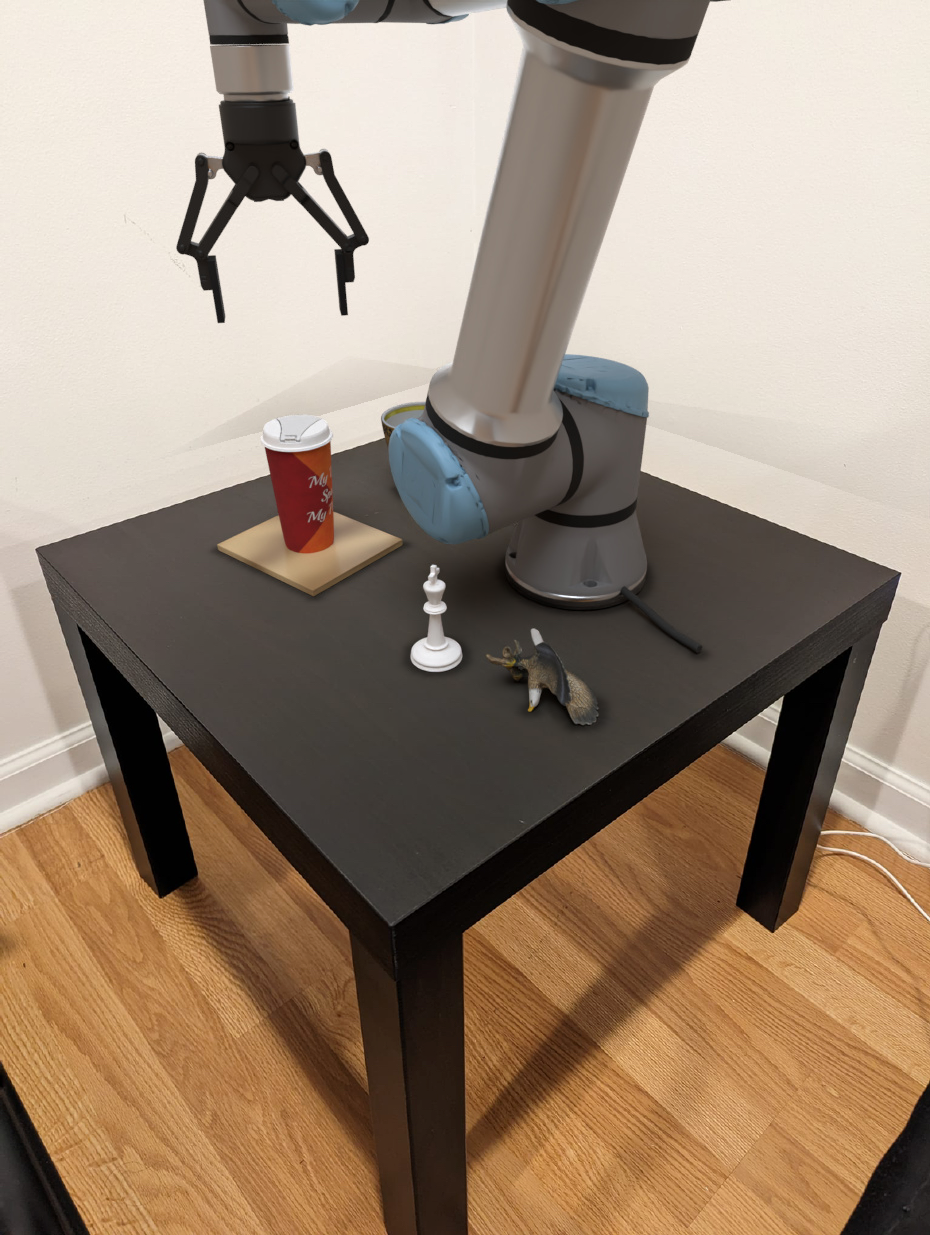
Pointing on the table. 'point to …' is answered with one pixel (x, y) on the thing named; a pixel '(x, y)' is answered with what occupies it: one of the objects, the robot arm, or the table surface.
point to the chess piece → (435, 632)
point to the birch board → (311, 570)
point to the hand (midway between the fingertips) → (283, 316)
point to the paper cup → (301, 480)
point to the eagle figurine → (550, 679)
